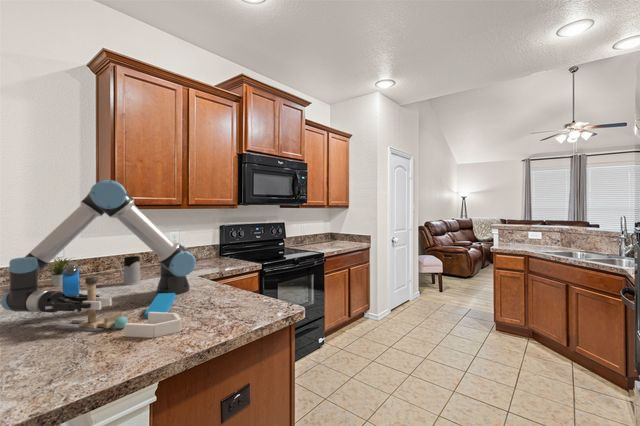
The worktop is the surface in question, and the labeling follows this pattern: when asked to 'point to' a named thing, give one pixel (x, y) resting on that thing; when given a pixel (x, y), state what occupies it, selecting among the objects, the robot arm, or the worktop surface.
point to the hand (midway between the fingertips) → (105, 303)
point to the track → (79, 327)
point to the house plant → (58, 271)
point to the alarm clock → (71, 280)
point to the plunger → (92, 313)
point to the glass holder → (131, 270)
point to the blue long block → (161, 303)
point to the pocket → (155, 325)
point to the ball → (120, 322)
